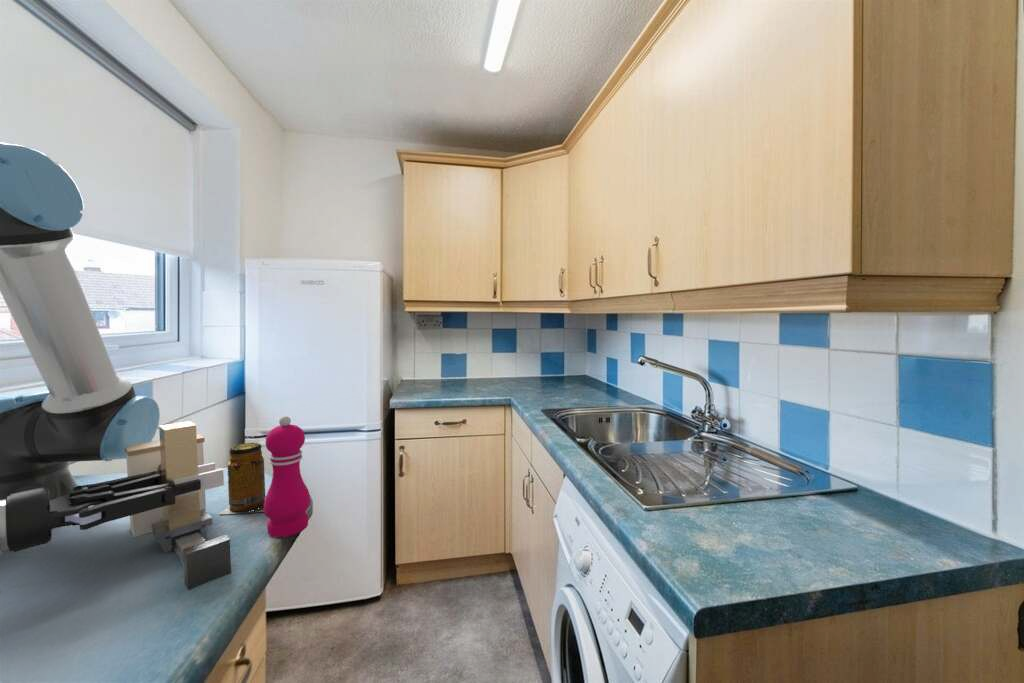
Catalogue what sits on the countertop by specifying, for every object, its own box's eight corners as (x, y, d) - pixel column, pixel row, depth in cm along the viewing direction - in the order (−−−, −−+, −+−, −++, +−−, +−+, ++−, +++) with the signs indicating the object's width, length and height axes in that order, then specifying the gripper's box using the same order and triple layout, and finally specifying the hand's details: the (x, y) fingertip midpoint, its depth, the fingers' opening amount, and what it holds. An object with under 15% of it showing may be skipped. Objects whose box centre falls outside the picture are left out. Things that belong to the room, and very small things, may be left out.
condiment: (239, 498, 84) (237, 441, 83) (282, 496, 85) (281, 440, 84) (217, 515, 77) (215, 452, 76) (265, 513, 77) (263, 451, 77)
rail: (153, 531, 71) (152, 503, 71) (189, 520, 75) (188, 493, 74) (188, 590, 55) (186, 554, 55) (231, 572, 59) (229, 539, 59)
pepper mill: (320, 520, 74) (317, 412, 73) (290, 541, 67) (286, 422, 66) (286, 516, 76) (283, 410, 75) (254, 536, 69) (249, 420, 68)
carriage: (152, 543, 66) (146, 427, 65) (204, 526, 72) (199, 418, 71) (158, 554, 63) (152, 432, 62) (212, 536, 69) (207, 423, 68)
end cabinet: (128, 529, 72) (124, 446, 71) (201, 508, 79) (198, 433, 79) (133, 538, 68) (128, 452, 68) (208, 515, 76) (204, 438, 76)
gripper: (9, 530, 59) (206, 481, 77) (3, 579, 48) (235, 509, 66) (5, 480, 59) (204, 442, 76) (-1, 517, 48) (233, 463, 65)
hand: (218, 473), depth 71 cm, fingers closed on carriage, 4 cm apart
